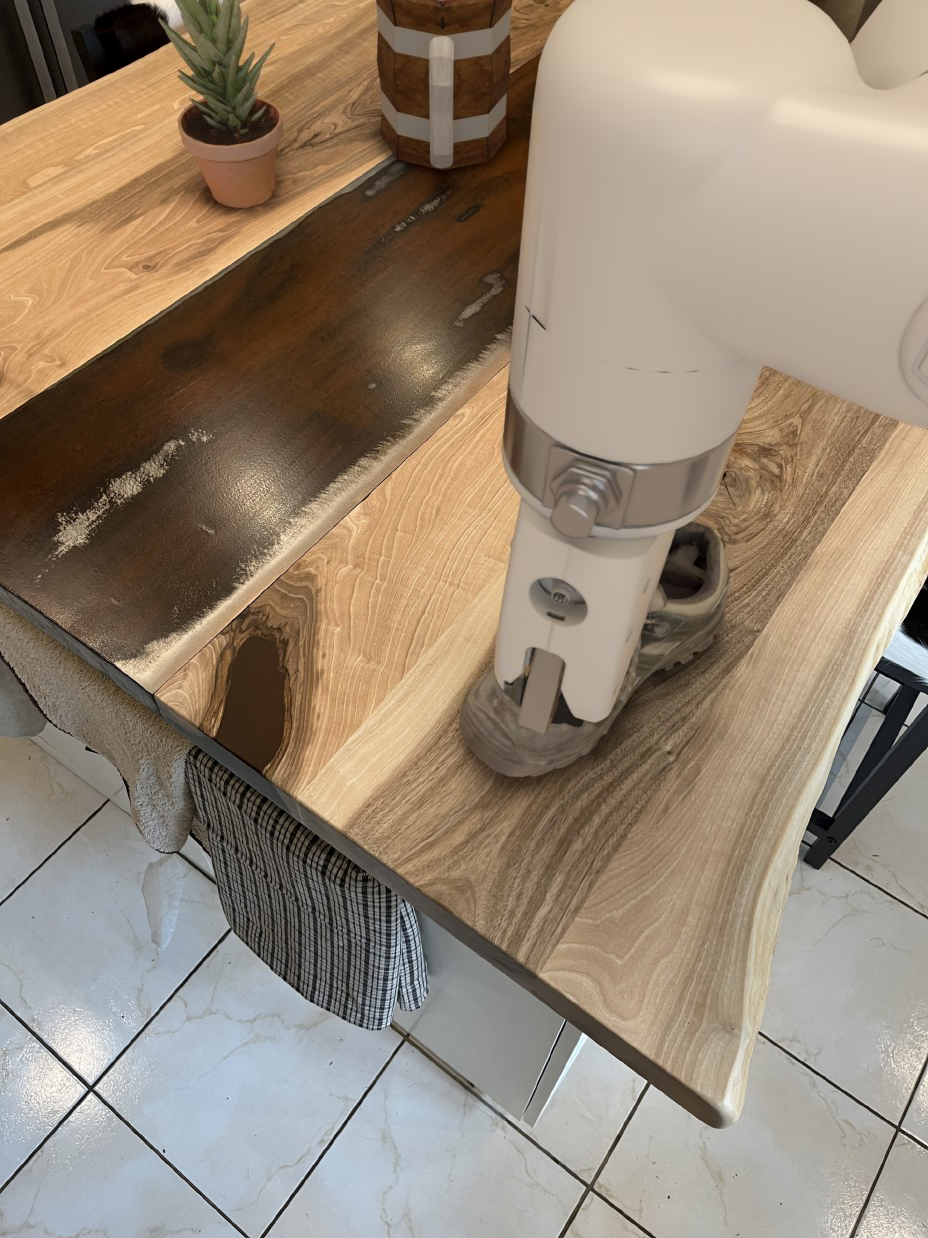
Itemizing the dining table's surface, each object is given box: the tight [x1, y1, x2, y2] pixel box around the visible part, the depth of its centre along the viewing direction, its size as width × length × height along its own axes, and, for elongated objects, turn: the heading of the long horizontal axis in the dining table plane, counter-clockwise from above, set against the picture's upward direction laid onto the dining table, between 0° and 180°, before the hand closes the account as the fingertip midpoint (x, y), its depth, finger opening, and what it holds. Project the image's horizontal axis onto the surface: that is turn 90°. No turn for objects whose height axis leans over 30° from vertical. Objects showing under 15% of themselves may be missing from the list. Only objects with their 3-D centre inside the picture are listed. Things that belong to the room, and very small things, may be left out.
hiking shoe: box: [458, 520, 731, 778], centre depth 58 cm, size 9×21×12 cm, turn 132°
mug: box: [375, 0, 513, 171], centre depth 92 cm, size 20×14×15 cm
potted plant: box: [158, 0, 285, 209], centre depth 83 cm, size 10×10×25 cm
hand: (555, 704), depth 46 cm, fingers closed
